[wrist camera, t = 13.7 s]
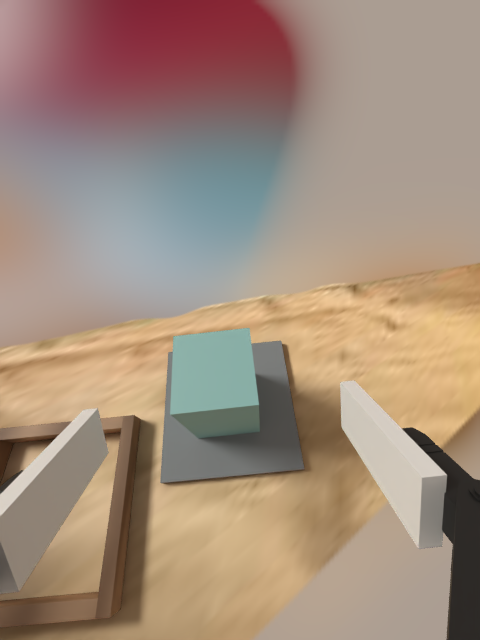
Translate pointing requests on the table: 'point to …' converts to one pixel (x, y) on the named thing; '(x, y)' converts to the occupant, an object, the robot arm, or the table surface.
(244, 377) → the teal block
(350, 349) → the table surface
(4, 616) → the pocket frame
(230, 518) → the table surface
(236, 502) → the table surface
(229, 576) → the table surface
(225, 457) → the slate mat
